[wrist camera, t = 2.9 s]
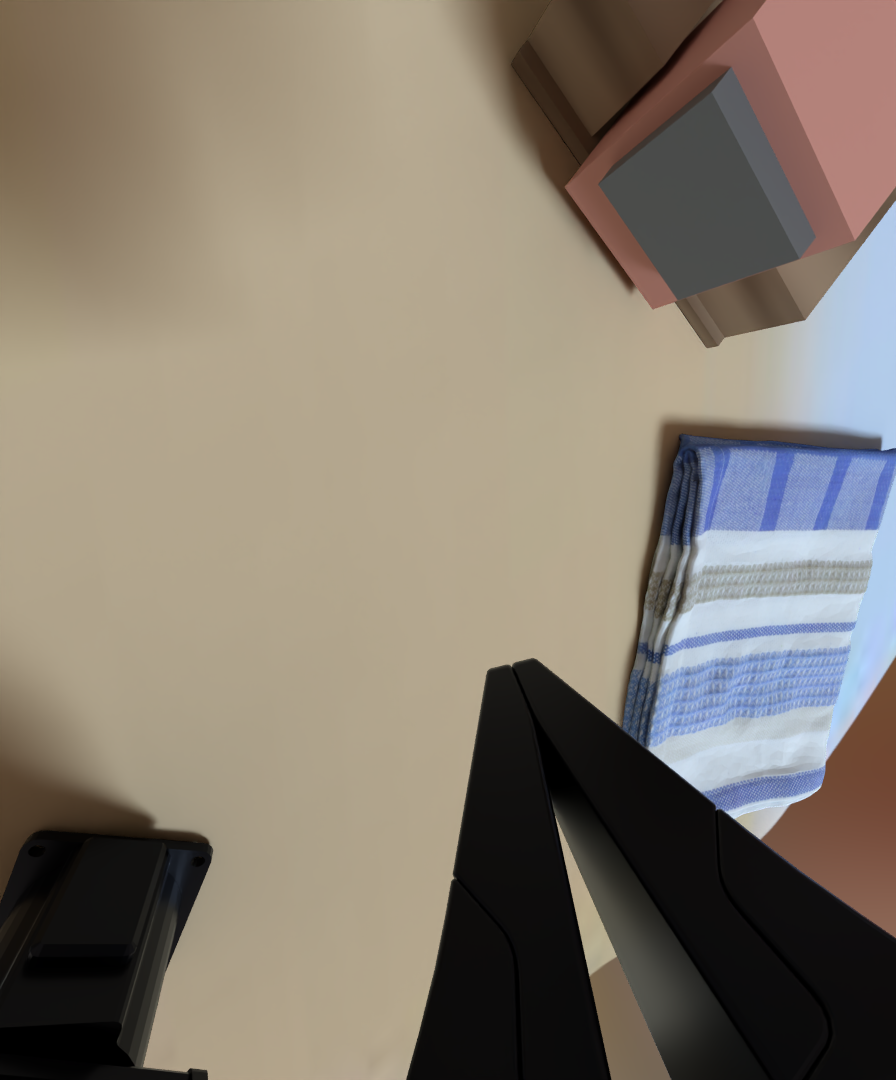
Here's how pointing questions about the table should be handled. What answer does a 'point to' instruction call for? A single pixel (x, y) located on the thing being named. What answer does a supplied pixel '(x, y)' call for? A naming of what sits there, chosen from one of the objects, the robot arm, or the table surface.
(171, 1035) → the table surface
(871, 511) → the dish towel
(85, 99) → the table surface
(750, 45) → the pink cube
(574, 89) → the guide block
